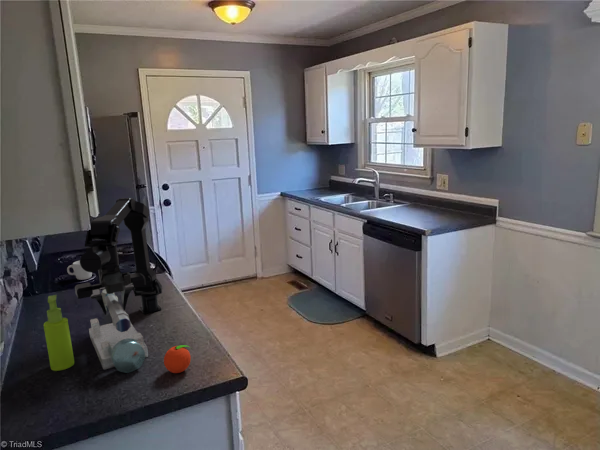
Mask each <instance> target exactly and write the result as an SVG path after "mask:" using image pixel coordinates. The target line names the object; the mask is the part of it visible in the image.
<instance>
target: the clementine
mask: <svg viewBox="0 0 600 450" xmlns="http://www.w3.org/2000/svg"><path fill="white" fill-rule="evenodd" d="M187 347H188V348H191V350H193V348H192V347H191V346H189V345H187V344H185V345H184V344H183V345H182V344H181V345H175V346H172V347H170V348H169V349H168V350H167V351H166V353H165V354H164V357H163V363H164V367H165V368H166V370H167V371H169V372H170V373H173V374H181V373H182V372H184V371H185V370H187V369H188V367H189V366H190V364H191V359H192V356H191V353H190V351H189V350H188V349H187Z"/></svg>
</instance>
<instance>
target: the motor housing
mask: <svg viewBox="0 0 600 450" xmlns="http://www.w3.org/2000/svg"><path fill="white" fill-rule="evenodd" d="M125 313H126V314H128V313H127V312H126V311H125ZM89 321H90V328H88V331H89V338H90V340H91V343H92V346H93V347H94V350H95V352H96V354H97V357H98V360H99V362H100V365H101V367H102V369H103V370H104V371H105V370H107V369H112V368H115V369H116V370H117V371H118V372H120V373H125V374H126V373H127V374H128V373H132V372H135V371H137V370H138V369H139V368H141V367H142V365H143V364H144V362H145V358H148V357H149V351H148V346H147V344H146V343H145V340H144V336H143V335H142V333H141V332H138V330H136V328H135V327H134V325H133V324H132V322H131V321H130V323H131V327H130V328H129V329H128V330H127V331H125V332H120V331H118V330H117V329H116V327H115V326H114V325H113V322H111V323H106V324H102V325H101V324H100V322H99V319H98V317H96V318H91V319H90V320H89Z"/></svg>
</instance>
